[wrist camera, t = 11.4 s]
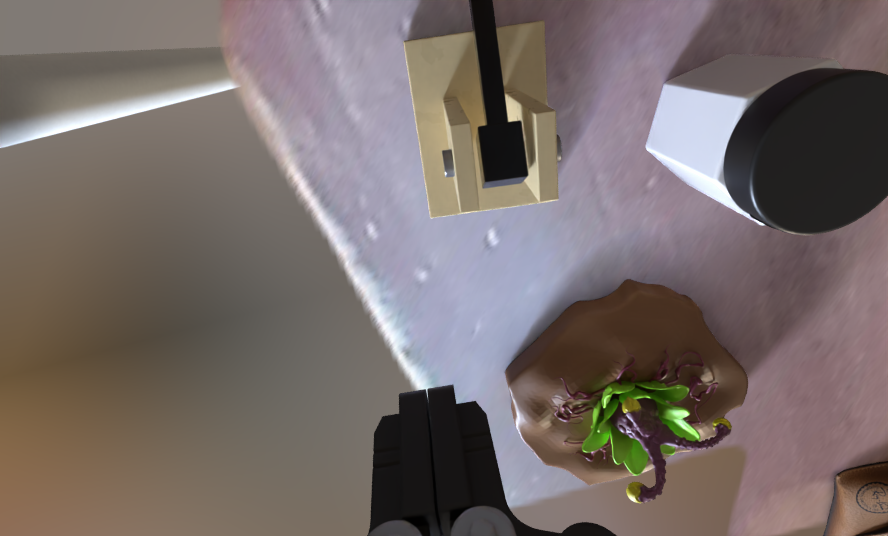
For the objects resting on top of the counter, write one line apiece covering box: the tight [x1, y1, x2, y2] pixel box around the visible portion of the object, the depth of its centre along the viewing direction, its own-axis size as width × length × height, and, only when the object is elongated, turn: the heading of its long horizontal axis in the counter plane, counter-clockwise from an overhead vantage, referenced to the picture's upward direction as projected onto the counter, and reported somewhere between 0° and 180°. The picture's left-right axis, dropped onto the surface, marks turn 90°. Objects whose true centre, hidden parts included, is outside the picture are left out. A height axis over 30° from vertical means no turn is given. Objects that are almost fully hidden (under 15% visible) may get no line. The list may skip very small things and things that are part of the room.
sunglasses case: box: [823, 461, 888, 536], centre depth 52 cm, size 18×7×7 cm
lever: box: [469, 0, 529, 189], centre depth 25 cm, size 14×6×2 cm, turn 8°
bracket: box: [403, 20, 562, 218], centre depth 28 cm, size 12×9×12 cm
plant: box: [505, 279, 748, 503], centre depth 39 cm, size 20×20×11 cm
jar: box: [646, 54, 888, 235], centre depth 29 cm, size 9×8×12 cm
